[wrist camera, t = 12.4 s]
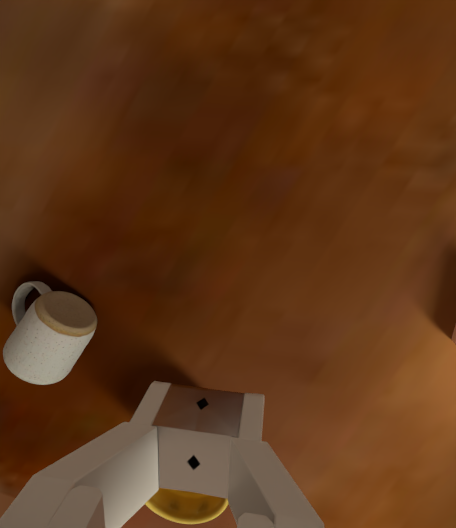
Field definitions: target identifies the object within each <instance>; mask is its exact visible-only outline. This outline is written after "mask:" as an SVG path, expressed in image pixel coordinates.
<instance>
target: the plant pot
mask: <svg viewBox="0 0 456 528" xmlns="http://www.w3.org/2000/svg"><path fill="white" fill-rule="evenodd" d="M228 504H229V503H228V499H226V498H221V497H216V496H211V495H205V494H200V493H195V492H188V491H181V490H173V489H165V488H159V490H158V491H157V492H156V493H155V494H154V495H153V496H152V497H151V498H150V499H149V500H148V501H147V502H146V503H145V505H146V506H147V507H148V508H149V509H151V510H152V511H153V512H155V513H156V514H158V515H160V516H161V517H163V518H166V519H168V520H171V521H174V522H178V523H183V524H199V523H204V522H207V521H210V520H212V519H214V518H216V517H217V516H219V515H220V514H221V513H222V512H223V511H224V510H225V509H226V507H227V505H228Z"/></svg>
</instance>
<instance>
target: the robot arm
mask: <svg viewBox="0 0 456 528" xmlns="http://www.w3.org/2000/svg"><path fill="white" fill-rule="evenodd" d="M264 398H265V397H264V394H254V393H238V392H230V391H222V390H214V389H208V388H201V387H194V386H188V385H181V384H174V383H173V384H171V383H166V382H159V381H154V382H153V383H151V384H150V386H149V388H148V390H147V392H146V393H145V395H144V397H143V399H142V401H141V403H140V404H139V406H138V408H137V410H136V412H135V413H134V415H133V417H132V419H131V421H130V422H129V423H128V422H123V423H121V424H120V425H118V426H116V427H115V428H113V429H111V430H109V431H108V432H106V433H104V434H103V435H101V436H99V437H97V438H96V439H94V440H92V441H91V442H89V443H87V444H86V445H84V446H82V447H80V448H79V449H77V450H75V451H74V452H72V453H70V454H69V455H67V456H65V457H63V458H62V459H60V460H58V461H57V462H55V463H53V464H52V465H50V466H48V467H46V468H45V469H43V470H41V471H40V472H38V473H36V474H34V475H33V476H32V478H31V479H30V480H29V481H28V483H27V484H26V485H25V487H24V488H23V489H22V491H21V492H20V493H19V495H18V496H17V497H16V499H15V500H14V501H13V503H12V504H11V505H10V507H9V508H8V509H7V511H6V512H5V513H4V515H3V516H2V517H1V519H0V528H120V527H121V526H123V525H124V524H125V523H126V522H127V521H128V520H129V519H130V518H131V517H132V516H133V515H134V514H135V513H136V512H137V511H138V510H139V509H140V508H141V507H142V506H143V505H144V504H145V503H146V502H147V501H148V500H149V499H150V498H151V497H152V496H153V495H154V494H155V493H156V492H157V491H158V490H159V488H165V489H173V490H181V491H188V492H195V493H200V494H205V495H211V496H216V497H221V498H226V499H228V503H229V505H230V508H231V510H232V513H233V516H234V518H235V521H236V523H237V528H324V523H323V522H322V520H321V519H320V517H319V516H318V515H317V513H316V512H315V510H314V509H313V507H312V506H311V505H310V503H309V502H308V500H307V499H306V497H305V496H304V494H303V493H302V492H301V490H300V489H299V487H298V486H297V484H296V483H295V481H294V480H293V479H292V477H291V476H290V474H289V473H288V471H287V470H286V468H285V467H284V466H283V464H282V463H281V461H280V460H279V458H278V457H277V455H276V454H275V453H274V451H273V450H272V448H271V447H270V445H269V444H268V443H267V442H263V441H261V440H262V426H263V412H264Z"/></svg>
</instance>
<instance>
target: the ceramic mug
mask: <svg viewBox="0 0 456 528" xmlns="http://www.w3.org/2000/svg"><path fill="white" fill-rule="evenodd" d="M34 287H35V288H36V289H37V290H38V291H39V293H40V294H41V296H40V297H38V298H37V299H36V300H35V301H34V302H33V303H32V305H31V306H30V307H29V309H28V310H27V312H25V299H26V296H27V295H28V293H29V292H30V291H31V290H32V289H33V288H34ZM12 312H13V317H14V320H15V323H16V325H17V327H16V328H15V330H14V331H13V333H12V334H11V336H10V337H9V339H8V340H7V342H6V344H5V346H4V349H3V357H4V361H5V363H6V365H7V367H8V368H9V370H10V371H11V372H12V373H13V374H15V375H16V376H17V377H19V378H20V379H22V380H24V381H27V382H30V383H33V384H40V385H46V384H53V383H56V382H58V381H60V380H62V379H63V378H65V377H66V376H67V375H68V373H69V372H70V370H71V369H72V367H73V366H74V364H75V362H76V361H77V359H78V358H79V356H80V355H81V353H82V352H83V350H84V348H85V347H86V345H87V344H88V343H89V341H90V339H91V338H92V336H93V334H94V332H95V329H96V326H97V317H96V314H95V312H94V310H93V309H92V307H91V306H90V305H89V304H88V303H87V302H86V301H85V300H83V299H82V298H80V297H78V296H76V295H74V294H72V293H68V292H63V291H52V290H51V289H50V287H49V286H47V285H46V284H44V283H43V282H39V281H34V282H26V283H23V284H22V285H21V286H19V287H18V289H17V290H16V292H15V294H14V296H13V301H12Z"/></svg>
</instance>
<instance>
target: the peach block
mask: <svg viewBox="0 0 456 528" xmlns="http://www.w3.org/2000/svg"><path fill="white" fill-rule="evenodd" d="M451 340H452V341H453V342H454V343H455V344H456V324H455V328H454V332H453V335H452V339H451Z"/></svg>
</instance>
